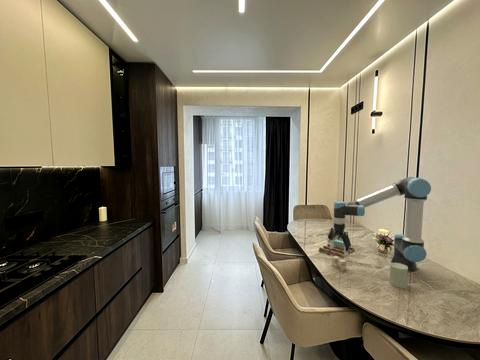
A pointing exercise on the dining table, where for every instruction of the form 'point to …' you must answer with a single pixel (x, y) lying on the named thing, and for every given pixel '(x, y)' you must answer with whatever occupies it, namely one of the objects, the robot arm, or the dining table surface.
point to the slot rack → (335, 250)
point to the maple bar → (339, 262)
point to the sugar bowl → (335, 236)
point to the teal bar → (339, 243)
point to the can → (398, 275)
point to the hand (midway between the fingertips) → (338, 251)
